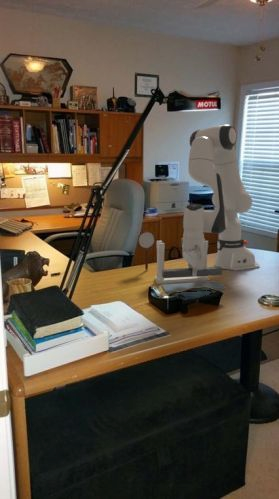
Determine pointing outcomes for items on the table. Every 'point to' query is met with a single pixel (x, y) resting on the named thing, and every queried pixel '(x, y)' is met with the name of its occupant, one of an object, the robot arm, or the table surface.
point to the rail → (188, 272)
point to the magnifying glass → (146, 244)
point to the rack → (161, 280)
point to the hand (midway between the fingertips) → (192, 274)
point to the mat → (183, 286)
